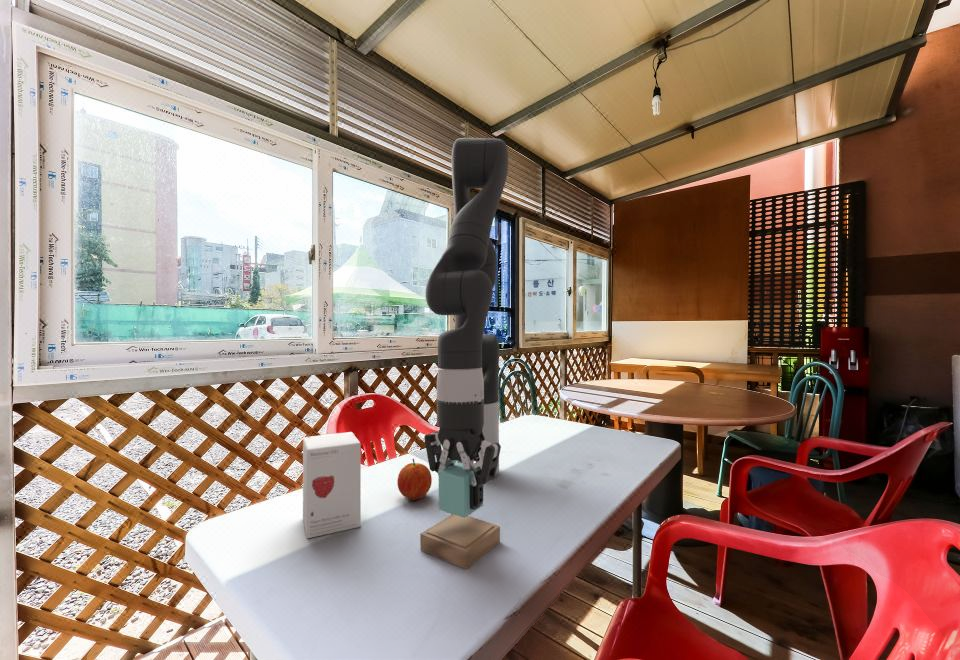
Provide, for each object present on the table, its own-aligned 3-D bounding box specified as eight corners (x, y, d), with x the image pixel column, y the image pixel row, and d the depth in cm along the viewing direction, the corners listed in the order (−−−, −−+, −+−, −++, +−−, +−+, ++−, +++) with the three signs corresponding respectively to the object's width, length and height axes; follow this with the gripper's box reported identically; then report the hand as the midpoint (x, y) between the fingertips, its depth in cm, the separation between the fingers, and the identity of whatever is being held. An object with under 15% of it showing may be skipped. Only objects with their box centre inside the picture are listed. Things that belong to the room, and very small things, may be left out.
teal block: (438, 509, 62) (438, 471, 62) (458, 498, 66) (458, 462, 66) (464, 517, 59) (463, 477, 59) (483, 505, 63) (482, 468, 63)
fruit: (438, 497, 81) (438, 458, 81) (411, 508, 76) (411, 467, 76) (417, 488, 86) (417, 451, 86) (390, 498, 81) (390, 459, 81)
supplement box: (305, 540, 65) (304, 449, 65) (302, 517, 73) (301, 436, 73) (362, 527, 69) (361, 441, 69) (353, 507, 77) (352, 430, 77)
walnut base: (420, 549, 62) (420, 532, 62) (456, 526, 69) (456, 510, 69) (466, 569, 57) (466, 550, 57) (499, 541, 64) (499, 524, 64)
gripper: (411, 395, 64) (411, 501, 64) (484, 404, 56) (485, 525, 56) (441, 389, 70) (442, 486, 70) (511, 396, 62) (512, 505, 62)
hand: (461, 502), depth 63 cm, fingers closed on teal block, 5 cm apart
